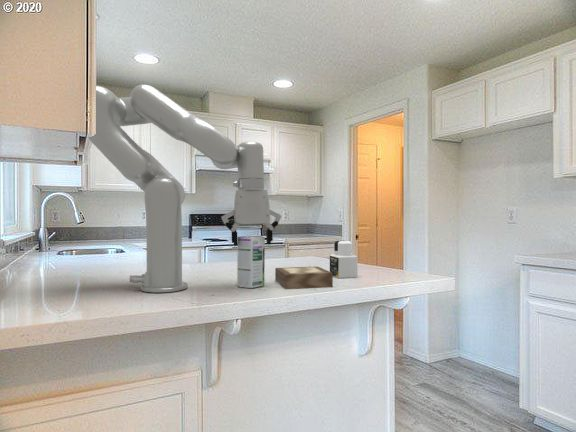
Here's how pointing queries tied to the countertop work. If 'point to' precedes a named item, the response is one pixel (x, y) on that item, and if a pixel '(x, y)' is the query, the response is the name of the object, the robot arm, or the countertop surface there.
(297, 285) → the stand
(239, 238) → the syrup box
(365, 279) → the countertop surface
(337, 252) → the medicine bottle
